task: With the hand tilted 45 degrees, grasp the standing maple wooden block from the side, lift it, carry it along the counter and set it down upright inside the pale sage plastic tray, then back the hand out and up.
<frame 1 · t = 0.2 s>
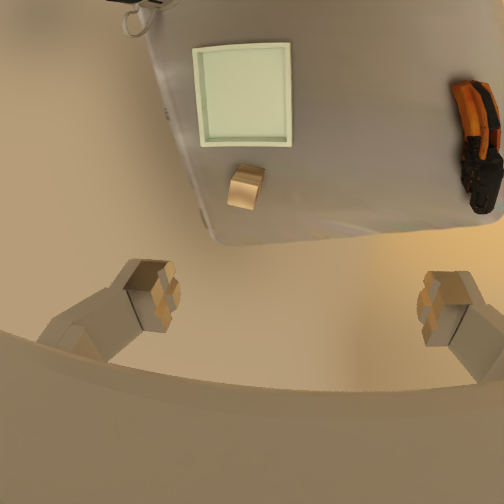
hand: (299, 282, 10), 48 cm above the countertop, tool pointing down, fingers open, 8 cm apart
tool: (468, 140, 46), on the countertop
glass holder: (163, 3, 42), on the countertop
block: (250, 177, 59), on the countertop
tray: (246, 93, 50), on the countertop
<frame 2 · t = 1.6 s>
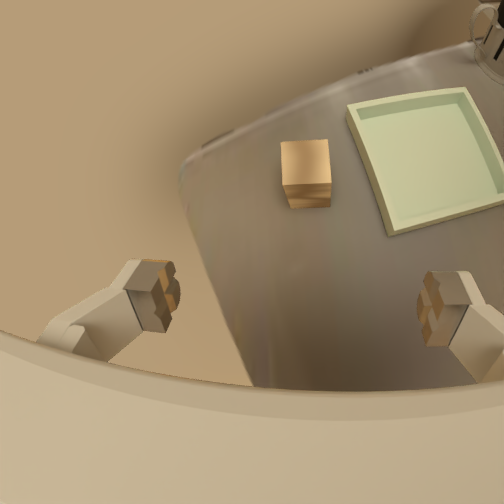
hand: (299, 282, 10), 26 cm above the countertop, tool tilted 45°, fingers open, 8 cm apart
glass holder: (485, 65, 34), on the countertop
block: (309, 189, 37), on the countertop
tray: (430, 159, 34), on the countertop
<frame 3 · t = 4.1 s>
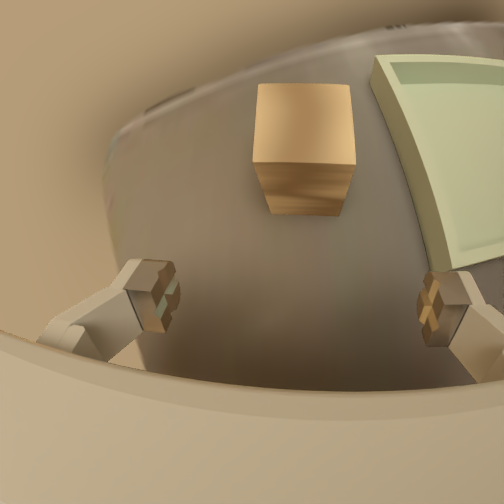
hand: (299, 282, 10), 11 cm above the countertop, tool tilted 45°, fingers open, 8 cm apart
block: (305, 183, 22), on the countertop
tray: (492, 156, 19), on the countertop
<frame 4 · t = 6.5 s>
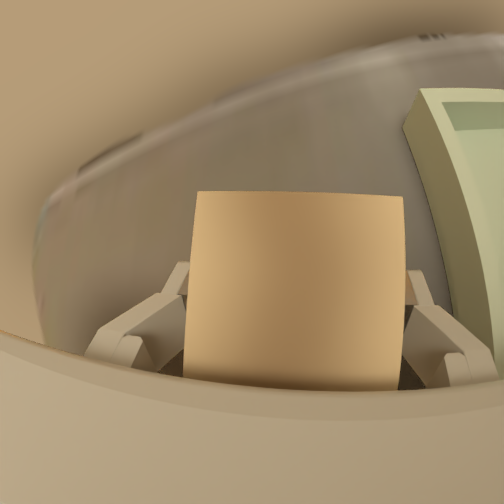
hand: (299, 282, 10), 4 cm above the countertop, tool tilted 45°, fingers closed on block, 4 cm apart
block: (300, 305, 14), on the countertop, touching gripper
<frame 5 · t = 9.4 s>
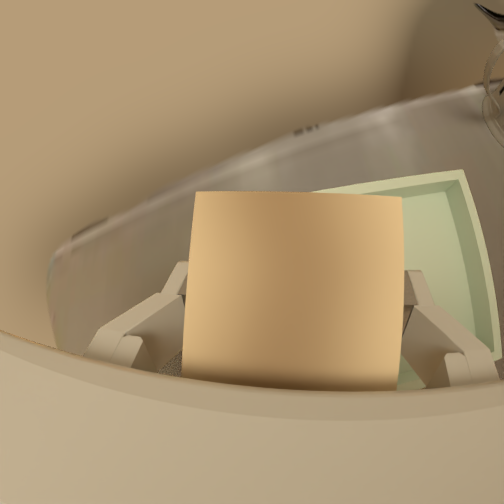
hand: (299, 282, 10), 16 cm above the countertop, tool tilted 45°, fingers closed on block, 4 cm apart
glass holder: (495, 124, 25), on the countertop
block: (299, 305, 14), point 11 cm above the countertop, touching gripper
tray: (381, 290, 24), on the countertop
when the fingers open (7 cm above the countertop, at t = 12.3 s): block drops 2 cm, resting on tray.
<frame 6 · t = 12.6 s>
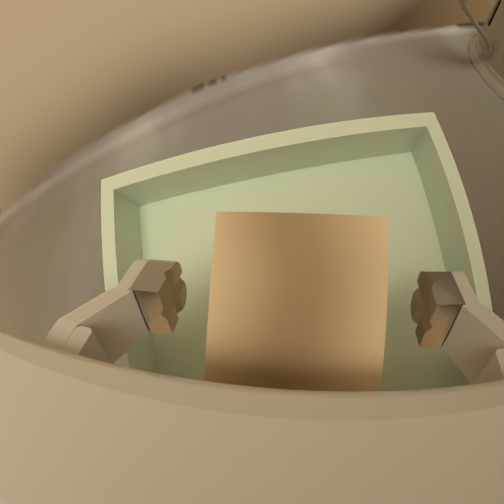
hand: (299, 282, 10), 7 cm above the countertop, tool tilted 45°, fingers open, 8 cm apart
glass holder: (488, 71, 17), on the countertop
block: (300, 305, 16), point 1 cm above the countertop, touching tray
tray: (299, 305, 16), on the countertop
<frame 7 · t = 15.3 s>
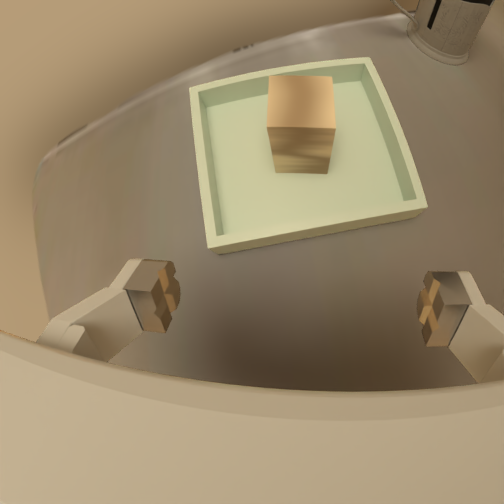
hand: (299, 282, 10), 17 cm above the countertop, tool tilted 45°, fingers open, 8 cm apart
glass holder: (420, 39, 29), on the countertop
block: (301, 150, 28), point 1 cm above the countertop, touching tray
tray: (301, 153, 28), on the countertop
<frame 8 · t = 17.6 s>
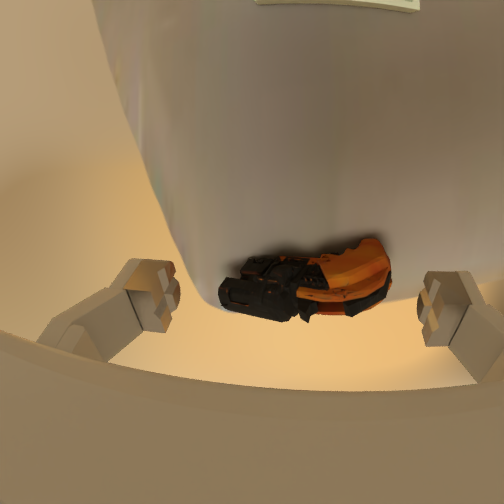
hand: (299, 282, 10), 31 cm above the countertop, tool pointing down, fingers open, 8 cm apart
tool: (305, 260, 48), on the countertop
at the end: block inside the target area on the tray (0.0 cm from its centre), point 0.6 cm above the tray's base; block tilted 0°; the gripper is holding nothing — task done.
